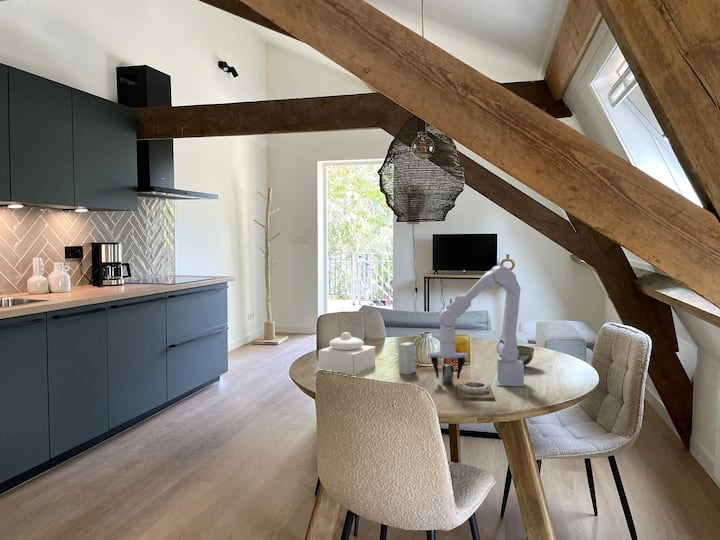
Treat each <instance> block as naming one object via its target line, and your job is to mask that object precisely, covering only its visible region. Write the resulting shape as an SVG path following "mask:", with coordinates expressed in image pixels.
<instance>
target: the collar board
mask: <svg viewBox="0 0 720 540" xmlns="http://www.w3.org/2000/svg"><path fill="white" fill-rule="evenodd" d="M455 387H456V392H457V397H458V400H464V401H465V400H466V401H468V400H469V401H496V397H495V394H494V392H493V389H492V387H491V385H490V384H487V383H485V382H482V381H481V382H480V381H465V382H463V383H461V384H460V383H459V384H458V383H457V384H456V385H455Z"/></svg>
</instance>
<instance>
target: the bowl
mask: <svg viewBox="0 0 720 540" xmlns="http://www.w3.org/2000/svg"><path fill="white" fill-rule="evenodd" d="M517 348H518V351H519V355H518V357H517V360H521V361H523V364H524V369H525V368H526V366H527V365H528V364H530V363H531V362H532V360H533V358H534V353H535V348H534V347H531V346H527V345H526V346H525V345H517Z"/></svg>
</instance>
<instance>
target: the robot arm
mask: <svg viewBox="0 0 720 540" xmlns="http://www.w3.org/2000/svg"><path fill="white" fill-rule="evenodd" d="M497 284H498V285H499V286H500V287H501V288H502V289H503V290H504V291H505V300H504V310H503V319H502V331H501V335H500V336H499V342H498V343H497V345H496V353H498V356H497V365H496V366H497V369H496V370H497V373H496V374H497V377H496V378H497V379H494V381H495V383H496V384H497V387H498V386H499V387H525V383H524V382H525V368H524V364H523V361H521V360H517V357H518V355H519V351H518V348H517V346H518V340H517V327H518V319H519V318H518V316H519V309H520V299H521V286H520V284H519V282H518V280H517V278H516V277H515V272H513V271H512V270H511V269H510V268H509V267H507V266H501V265H495V266H492V268H491V269H490V270H488V271H487V272H486V273H484V274H483V275H482V276H481V277H480V278H479V279H478V280H477V281H476V282H475V284H474V285H473V286H472V287H470V289H469V290H468V291H467V292H466V293H465V294H459V295H455V296H454V300H453V301H452V302H451V303H450V304H449V305H446V306H445V309H443V310H442V311H440V313H439V316H438V319H439V322H440V325H439V327H440V329H439V351H438V352H437V351H435V352H428V353H427V358H428V359H430V360H431V361H430V362H431V363H432V366H433V369H434V371H435V375H436V379H439V361H438V360H439V359H445V360H447V359H448V360H450V359H454V360H457V372H456V377H457V380H458V379H460V376H461V375H460V374H461V371H462V368H463V366H464V364H465V362H466V361H465V360H469V359H468V357H469V356H468V353H467V352H456V323H457V320H458V318H460V317H461V316H462V315H463V314H464V313H465V312H466V311H467V310H468V309H469V308H470V307H471V306H472V301H473V300H474V299H475V298H476V297H477V296H479V294H481V292H483V291H484V290H485V289H486V288H487V287H490V286H491V287H492V286H496V285H497Z"/></svg>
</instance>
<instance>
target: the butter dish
mask: <svg viewBox="0 0 720 540" xmlns="http://www.w3.org/2000/svg"><path fill="white" fill-rule="evenodd" d="M364 344H365V342H364V341H363V339H360V338H359V337H354V336H352V334H351V333H350V332H348V331H345V332H342V333H341V334H340V337H336V338H333V339H331V340H330V341H329V342H328V345H329V347H325V348H321V349H318V350H319V351H318V370H319V369H323V370H332V371H337V372H342V373H341V374H343V373H348V374H347V375H350V374H355V373H358V372H360V373H362V372H361V371H363V372H365V371H367V370H366V369H368V370H370V369H372V368H375V367H376V349H377V346H373V345H364ZM369 368H370V369H369ZM364 370H365V371H364ZM330 373H332V372H331V371H330ZM358 374H359V373H358Z"/></svg>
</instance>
